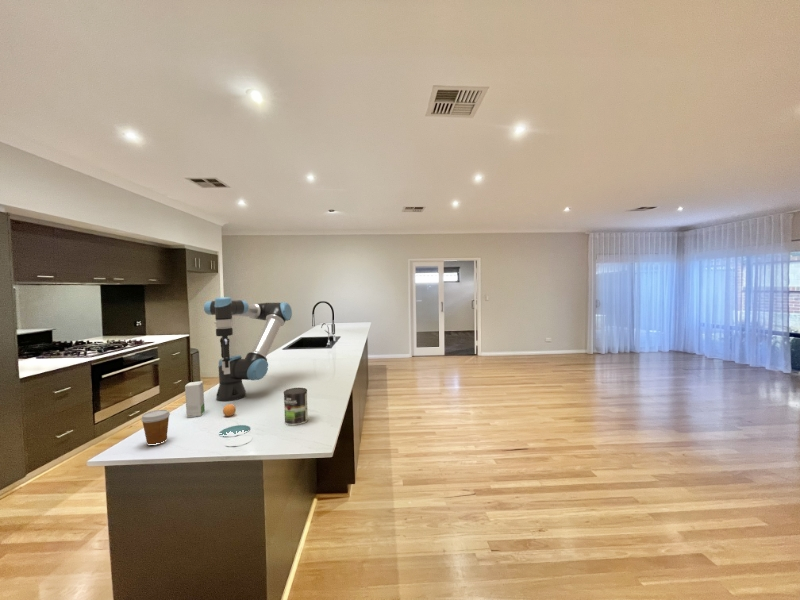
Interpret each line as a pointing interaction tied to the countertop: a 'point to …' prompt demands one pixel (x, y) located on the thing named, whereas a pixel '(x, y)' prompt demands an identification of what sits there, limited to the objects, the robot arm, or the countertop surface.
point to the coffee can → (295, 406)
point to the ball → (229, 410)
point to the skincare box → (194, 399)
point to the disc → (234, 429)
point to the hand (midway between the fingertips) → (226, 372)
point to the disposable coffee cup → (155, 426)
